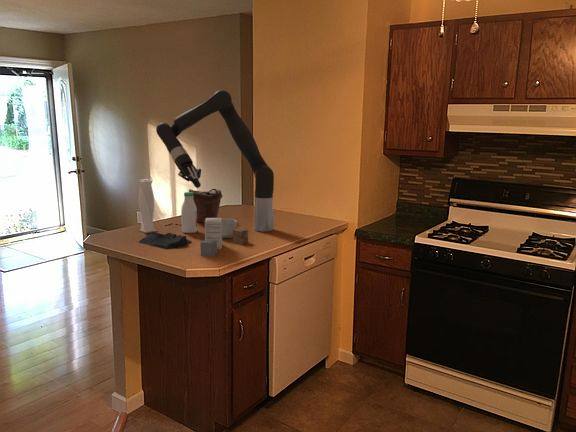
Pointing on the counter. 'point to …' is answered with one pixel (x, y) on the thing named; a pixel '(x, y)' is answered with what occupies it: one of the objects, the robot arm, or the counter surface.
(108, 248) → the counter surface
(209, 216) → the wooden bucket
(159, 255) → the counter surface
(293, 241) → the counter surface
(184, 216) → the milk bottle
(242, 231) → the walnut block
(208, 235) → the supplement box
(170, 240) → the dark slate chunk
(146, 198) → the skyscraper
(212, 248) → the slate-grey block
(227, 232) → the teacup
